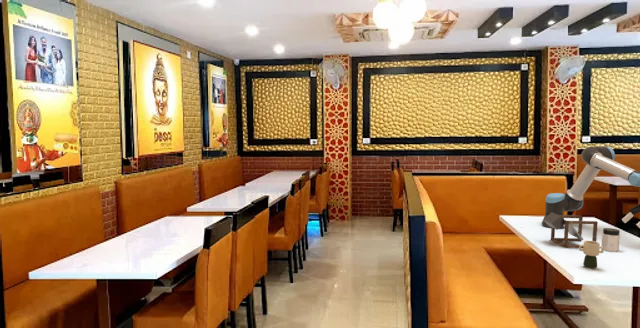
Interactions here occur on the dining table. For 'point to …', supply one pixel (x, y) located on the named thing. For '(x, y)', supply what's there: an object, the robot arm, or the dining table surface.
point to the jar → (610, 239)
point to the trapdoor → (560, 224)
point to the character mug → (591, 253)
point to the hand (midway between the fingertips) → (630, 223)
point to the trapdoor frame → (580, 222)
